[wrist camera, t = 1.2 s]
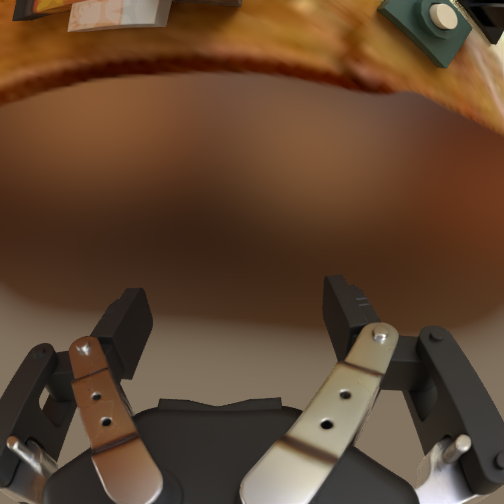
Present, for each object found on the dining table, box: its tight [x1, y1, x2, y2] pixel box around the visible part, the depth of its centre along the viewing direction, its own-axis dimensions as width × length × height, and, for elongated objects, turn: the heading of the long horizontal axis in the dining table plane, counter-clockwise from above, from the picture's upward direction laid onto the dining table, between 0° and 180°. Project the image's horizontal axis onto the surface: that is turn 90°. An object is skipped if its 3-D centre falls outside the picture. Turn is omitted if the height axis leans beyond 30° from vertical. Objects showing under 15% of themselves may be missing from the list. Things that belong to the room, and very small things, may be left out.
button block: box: [377, 0, 472, 69], centre depth 22 cm, size 12×10×4 cm
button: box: [429, 4, 457, 29], centre depth 20 cm, size 4×4×2 cm
